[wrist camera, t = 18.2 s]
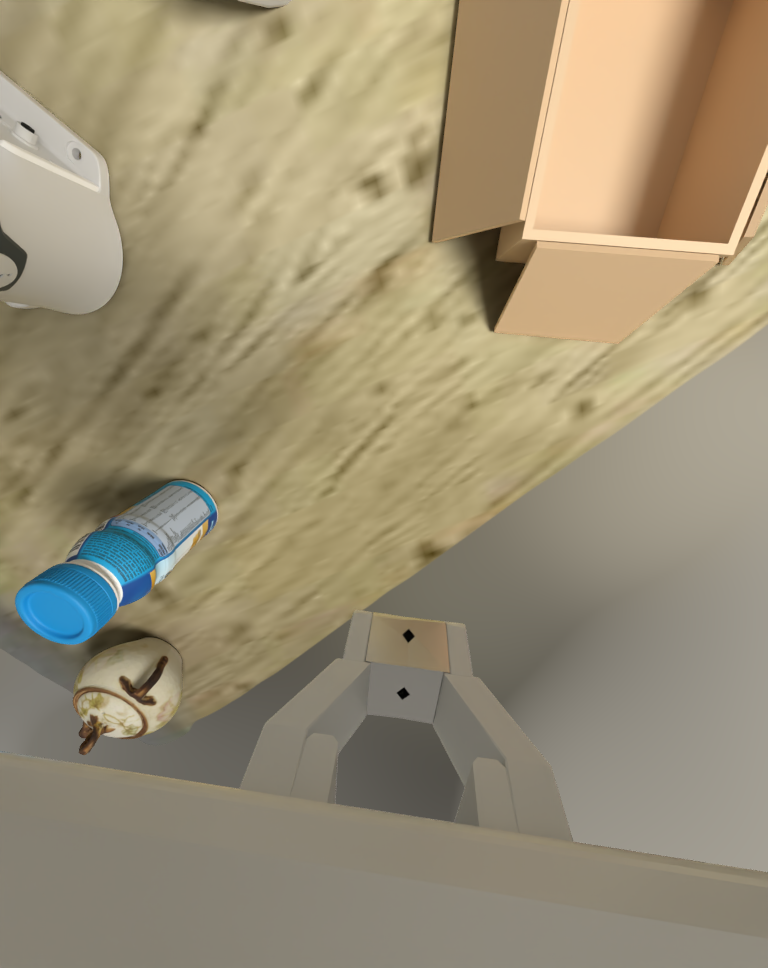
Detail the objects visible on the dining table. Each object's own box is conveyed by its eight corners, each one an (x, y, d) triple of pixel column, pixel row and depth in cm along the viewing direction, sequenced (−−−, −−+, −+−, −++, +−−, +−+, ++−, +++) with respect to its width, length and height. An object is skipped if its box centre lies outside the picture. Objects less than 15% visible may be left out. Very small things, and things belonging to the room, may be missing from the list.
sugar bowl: (161, 702, 66) (94, 801, 53) (91, 653, 63) (-1, 745, 49) (227, 657, 60) (170, 756, 46) (153, 600, 56) (67, 689, 42)
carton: (688, 349, 36) (785, 359, 26) (422, 325, 37) (422, 327, 28) (833, -11, 26) (1073, -204, 16) (462, -26, 27) (484, -213, 18)
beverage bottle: (215, 479, 47) (83, 580, 28) (225, 535, 50) (114, 658, 32) (152, 475, 47) (-16, 571, 29) (167, 531, 51) (24, 649, 32)
